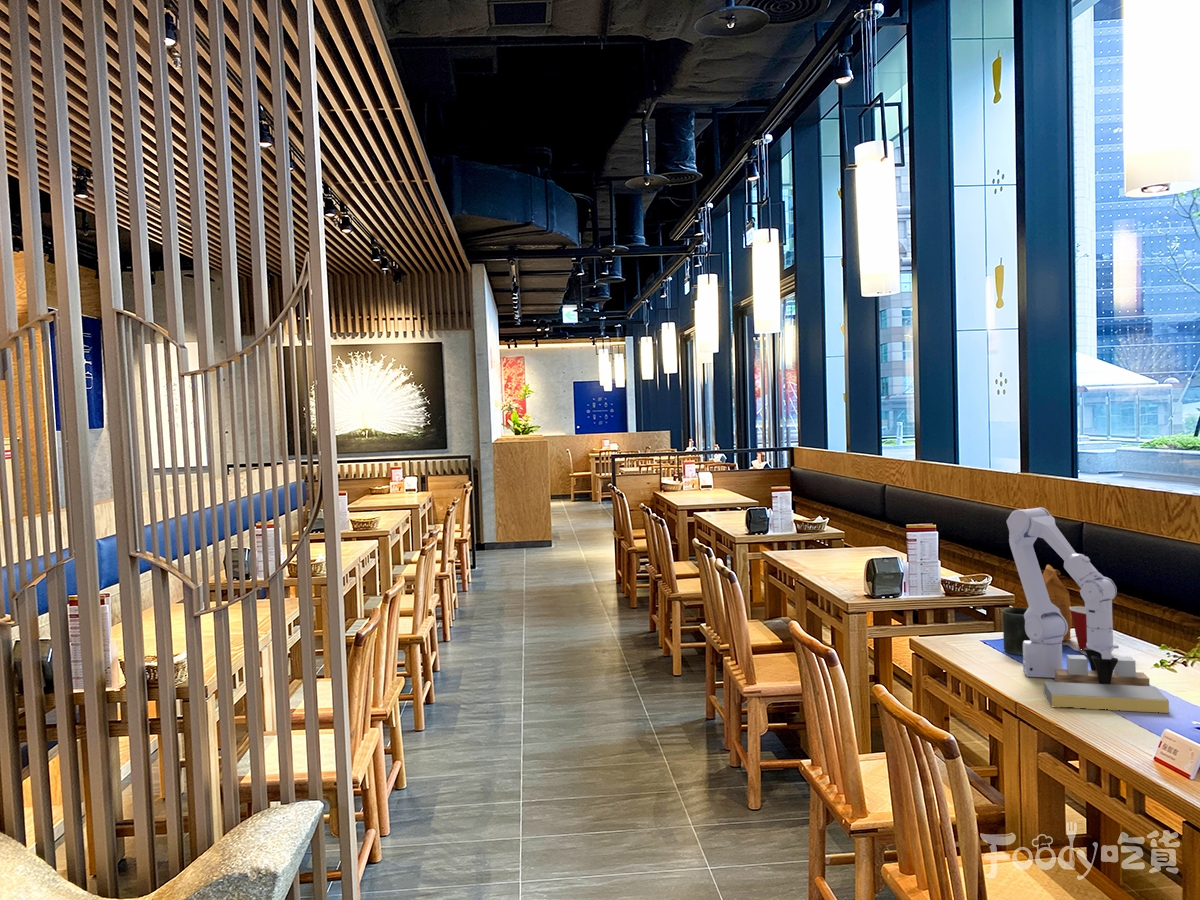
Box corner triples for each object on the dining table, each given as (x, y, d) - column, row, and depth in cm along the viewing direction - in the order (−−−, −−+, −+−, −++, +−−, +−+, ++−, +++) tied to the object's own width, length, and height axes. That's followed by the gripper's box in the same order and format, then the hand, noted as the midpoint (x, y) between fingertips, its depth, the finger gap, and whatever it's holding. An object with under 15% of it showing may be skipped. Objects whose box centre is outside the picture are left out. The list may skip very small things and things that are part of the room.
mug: (1005, 656, 260) (1004, 614, 260) (997, 644, 274) (996, 604, 274) (1047, 657, 257) (1045, 615, 257) (1036, 645, 271) (1035, 605, 271)
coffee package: (1066, 633, 283) (1064, 563, 283) (1074, 643, 272) (1072, 570, 271) (1031, 632, 287) (1029, 563, 286) (1037, 641, 275) (1035, 569, 274)
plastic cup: (1120, 653, 258) (1119, 611, 258) (1082, 654, 258) (1080, 612, 258) (1099, 644, 269) (1098, 604, 268) (1063, 645, 269) (1061, 605, 269)
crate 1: (1070, 674, 226) (1069, 658, 226) (1067, 670, 230) (1066, 654, 230) (1087, 675, 225) (1087, 659, 225) (1084, 670, 229) (1084, 655, 229)
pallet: (1058, 690, 226) (1058, 674, 226) (1055, 684, 232) (1054, 669, 232) (1149, 694, 220) (1149, 678, 220) (1143, 688, 226) (1143, 672, 226)
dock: (1052, 707, 212) (1051, 694, 212) (1044, 693, 223) (1044, 681, 223) (1169, 713, 205) (1168, 700, 205) (1155, 698, 216) (1154, 686, 216)
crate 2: (1117, 676, 223) (1117, 660, 223) (1113, 672, 227) (1113, 656, 227) (1135, 677, 222) (1135, 660, 222) (1131, 672, 226) (1131, 656, 226)
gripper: (1124, 633, 218) (1126, 689, 218) (1110, 621, 231) (1112, 674, 232) (1092, 632, 220) (1093, 688, 220) (1080, 620, 234) (1081, 673, 234)
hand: (1101, 681), depth 226 cm, fingers open, 7 cm apart
